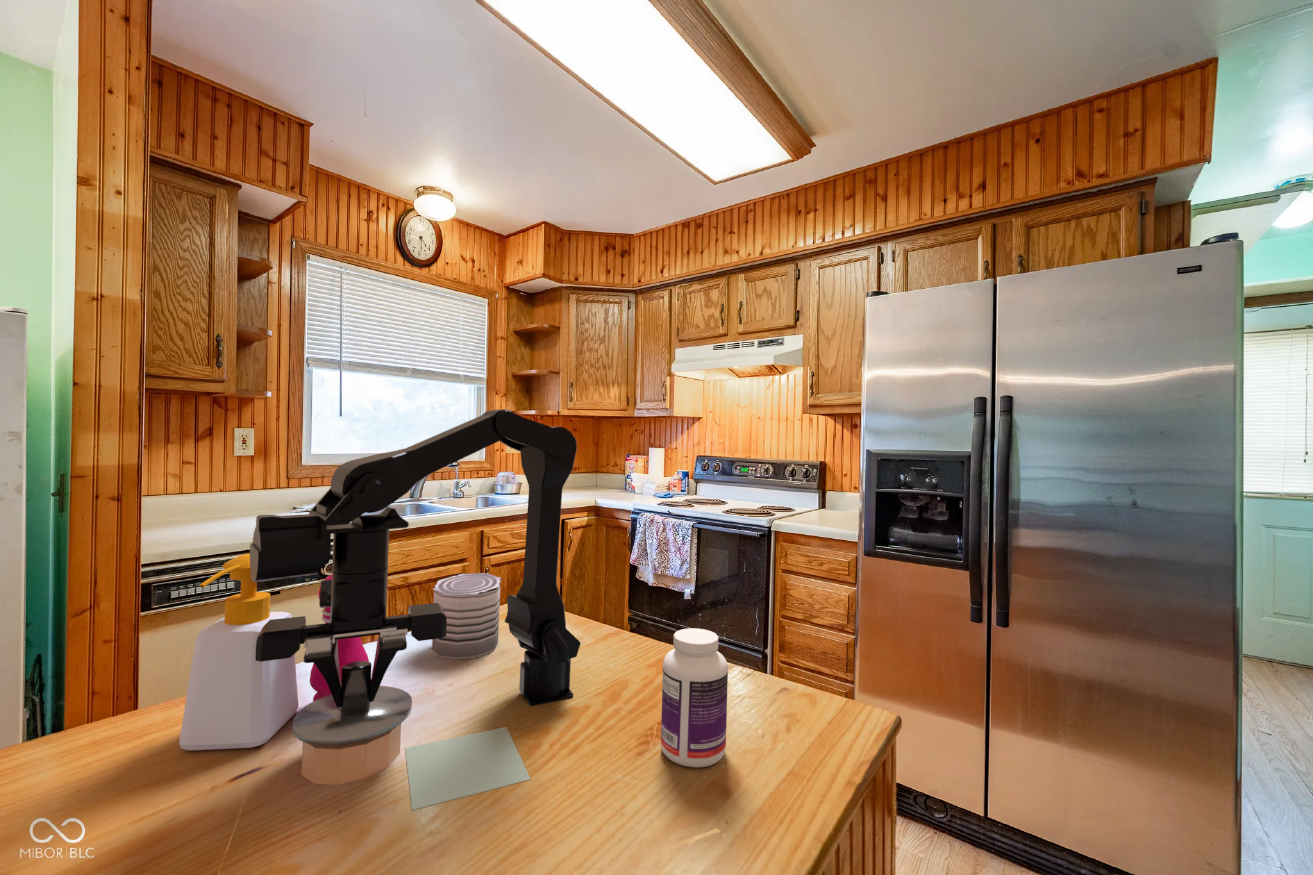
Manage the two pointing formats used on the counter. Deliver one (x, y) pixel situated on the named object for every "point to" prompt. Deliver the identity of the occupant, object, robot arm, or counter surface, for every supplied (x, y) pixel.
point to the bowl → (350, 758)
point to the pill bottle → (694, 699)
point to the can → (468, 615)
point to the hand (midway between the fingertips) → (355, 702)
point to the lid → (352, 711)
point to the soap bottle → (237, 674)
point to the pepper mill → (347, 654)
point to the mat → (463, 767)
